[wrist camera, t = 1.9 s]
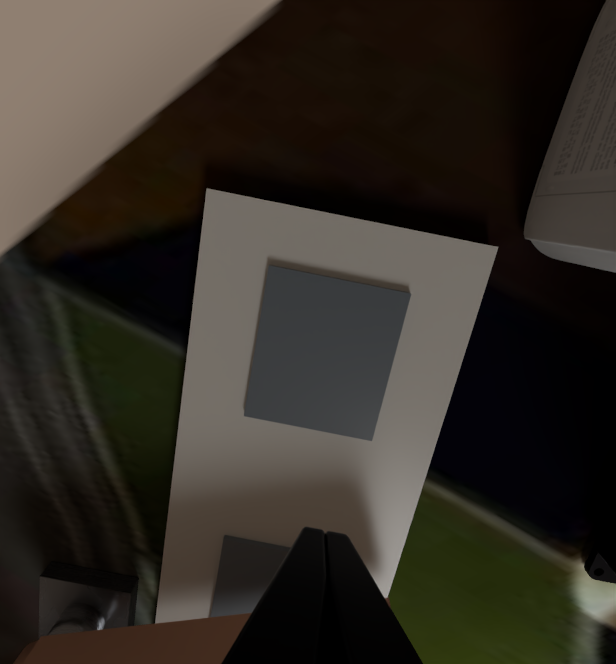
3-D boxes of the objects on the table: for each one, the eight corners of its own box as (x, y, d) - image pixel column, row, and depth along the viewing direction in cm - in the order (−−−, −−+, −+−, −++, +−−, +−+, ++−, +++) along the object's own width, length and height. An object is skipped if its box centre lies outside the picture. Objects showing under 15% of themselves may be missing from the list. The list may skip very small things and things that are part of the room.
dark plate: (138, 578, 23) (110, 633, 20) (132, 643, 25) (104, 703, 22) (51, 561, 23) (10, 614, 20) (49, 627, 25) (10, 686, 22)
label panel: (488, 245, 18) (501, 247, 16) (354, 678, 25) (356, 703, 24) (213, 189, 18) (204, 187, 16) (157, 641, 25) (148, 664, 23)
